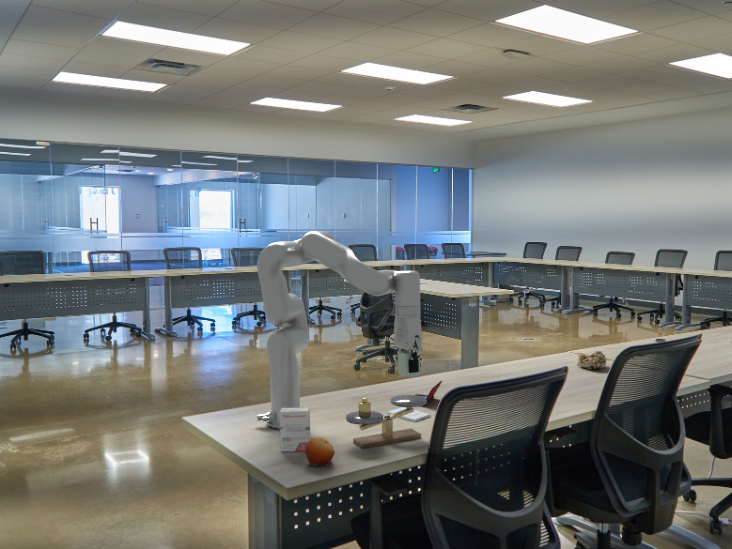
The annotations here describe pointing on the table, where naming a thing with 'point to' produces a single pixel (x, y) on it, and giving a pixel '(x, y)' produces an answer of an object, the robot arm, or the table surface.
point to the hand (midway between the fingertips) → (408, 369)
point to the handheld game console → (431, 393)
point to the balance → (385, 421)
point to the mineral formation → (592, 360)
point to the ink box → (294, 428)
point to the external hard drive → (411, 415)
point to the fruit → (319, 452)
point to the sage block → (405, 364)
